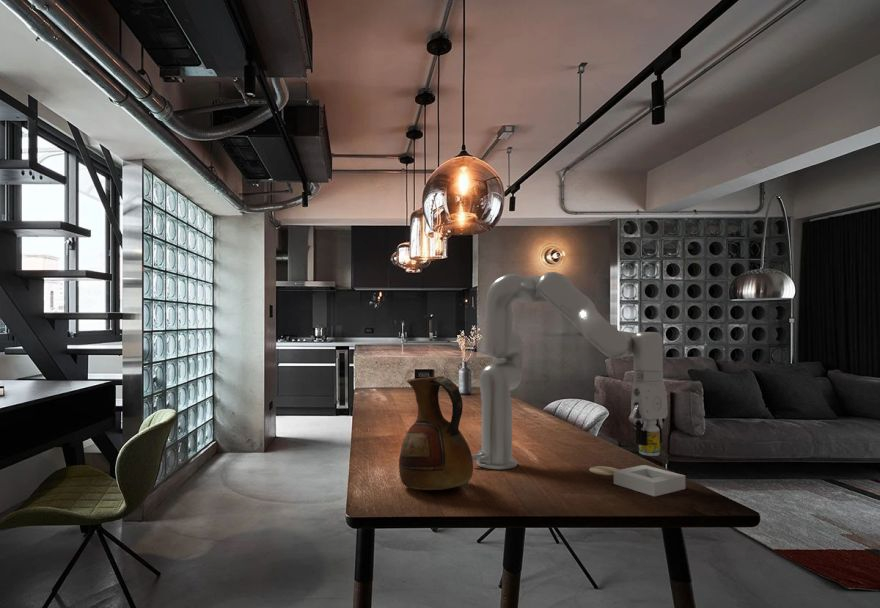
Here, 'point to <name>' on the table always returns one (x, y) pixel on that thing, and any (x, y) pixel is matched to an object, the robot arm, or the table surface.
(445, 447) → the ceramic pitcher
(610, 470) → the cork coaster
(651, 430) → the supplement bottle
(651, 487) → the socket block
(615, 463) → the table surface
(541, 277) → the robot arm
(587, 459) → the table surface
